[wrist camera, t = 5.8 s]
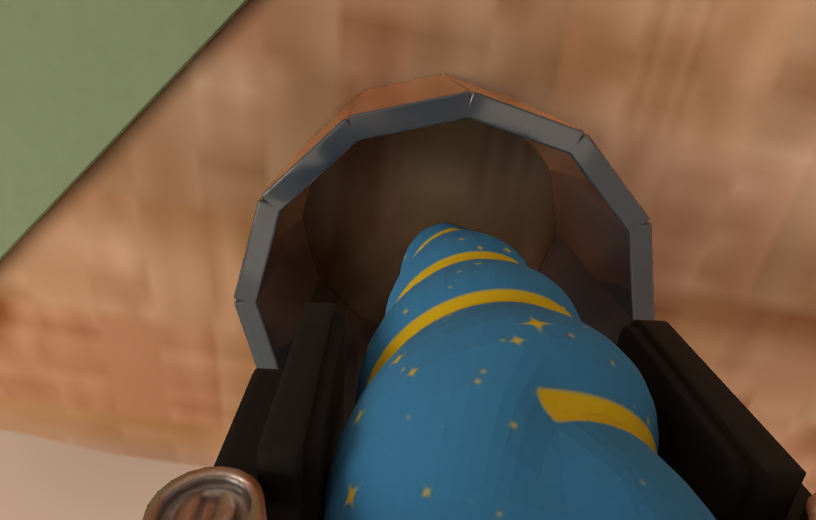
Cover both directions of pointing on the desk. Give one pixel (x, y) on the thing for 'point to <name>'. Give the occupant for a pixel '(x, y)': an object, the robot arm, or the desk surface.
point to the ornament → (496, 403)
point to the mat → (83, 87)
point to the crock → (425, 106)
